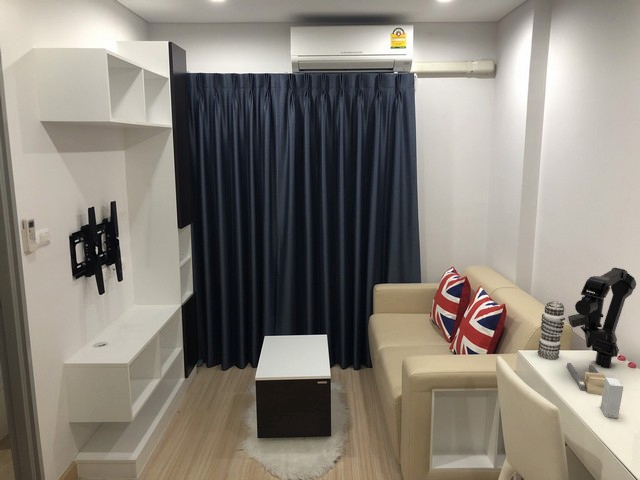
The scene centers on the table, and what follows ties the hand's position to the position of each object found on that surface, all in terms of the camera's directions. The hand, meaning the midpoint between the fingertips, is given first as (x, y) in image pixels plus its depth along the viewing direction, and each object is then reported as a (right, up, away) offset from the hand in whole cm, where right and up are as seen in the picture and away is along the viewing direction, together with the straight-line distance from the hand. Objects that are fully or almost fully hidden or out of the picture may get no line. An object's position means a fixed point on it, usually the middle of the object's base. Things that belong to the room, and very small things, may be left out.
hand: (588, 347), depth 208 cm
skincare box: (-4, -19, -23) cm, 30 cm away
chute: (-1, -13, -1) cm, 14 cm away
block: (-3, -14, -10) cm, 18 cm away
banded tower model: (-7, -9, +20) cm, 23 cm away
